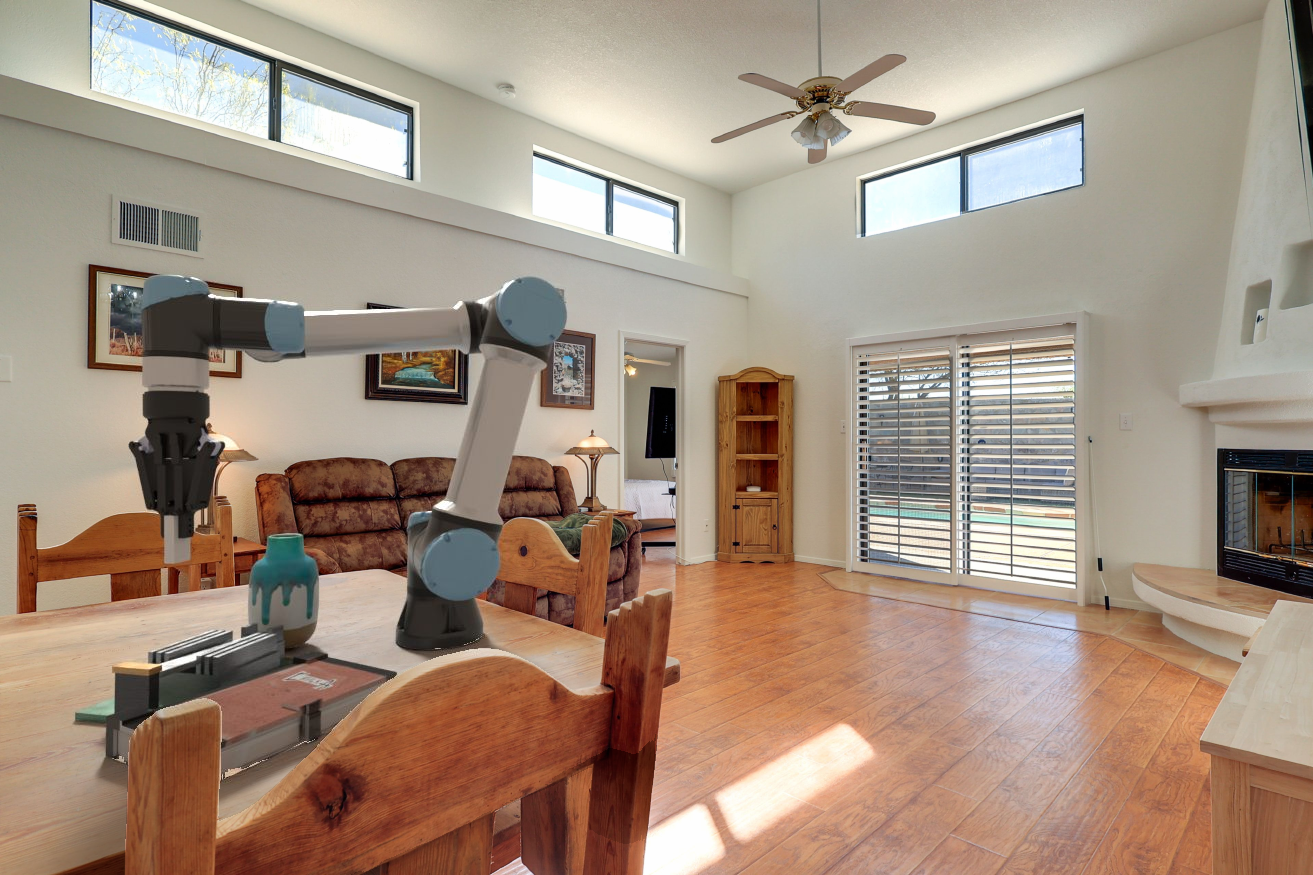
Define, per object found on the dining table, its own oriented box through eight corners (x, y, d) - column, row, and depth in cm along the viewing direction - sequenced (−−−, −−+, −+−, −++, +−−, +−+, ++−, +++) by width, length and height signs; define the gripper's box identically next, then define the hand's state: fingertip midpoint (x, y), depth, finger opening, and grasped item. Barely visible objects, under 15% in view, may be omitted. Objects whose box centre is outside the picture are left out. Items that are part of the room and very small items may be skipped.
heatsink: (311, 665, 105) (311, 621, 105) (178, 730, 81) (179, 673, 81) (227, 658, 108) (228, 615, 108) (75, 720, 84) (76, 664, 84)
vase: (268, 661, 106) (270, 542, 106) (234, 649, 112) (236, 536, 112) (331, 645, 115) (332, 534, 115) (296, 634, 121) (298, 529, 121)
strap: (270, 640, 105) (270, 635, 105) (156, 679, 85) (157, 672, 85) (253, 639, 105) (253, 634, 105) (136, 677, 86) (136, 671, 86)
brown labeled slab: (201, 797, 67) (202, 748, 67) (105, 760, 75) (106, 715, 75) (400, 705, 91) (400, 669, 91) (312, 684, 99) (313, 650, 99)
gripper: (240, 392, 94) (241, 557, 95) (158, 392, 96) (159, 555, 96) (197, 388, 87) (198, 568, 87) (109, 389, 89) (110, 565, 89)
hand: (177, 561), depth 92 cm, fingers closed
